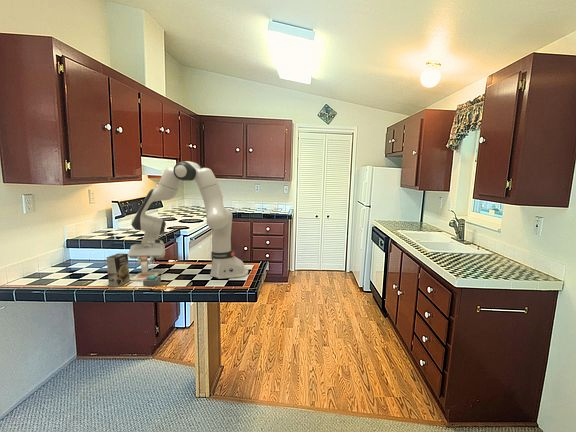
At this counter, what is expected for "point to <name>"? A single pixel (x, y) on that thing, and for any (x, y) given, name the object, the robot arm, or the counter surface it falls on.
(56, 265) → the counter surface
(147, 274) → the picture board
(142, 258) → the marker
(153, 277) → the button
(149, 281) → the button housing
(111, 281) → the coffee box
